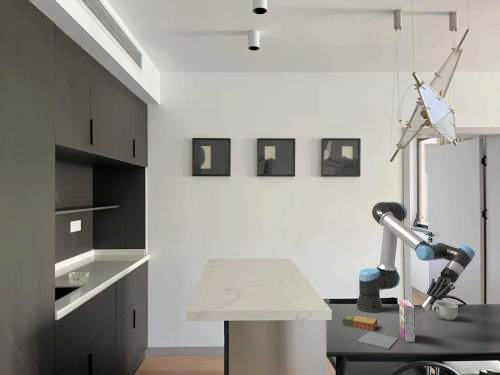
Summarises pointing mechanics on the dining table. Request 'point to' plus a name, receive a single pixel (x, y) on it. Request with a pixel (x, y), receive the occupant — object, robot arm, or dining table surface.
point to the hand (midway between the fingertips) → (424, 308)
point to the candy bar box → (407, 320)
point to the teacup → (446, 310)
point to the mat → (378, 340)
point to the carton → (360, 322)
